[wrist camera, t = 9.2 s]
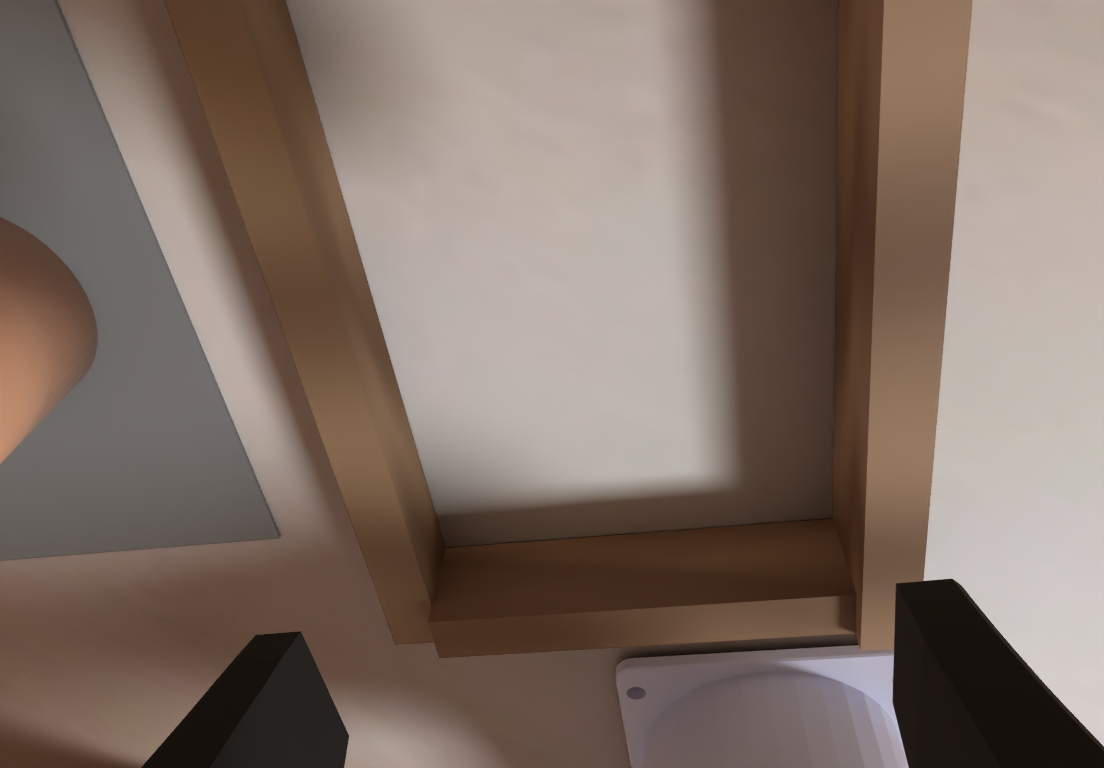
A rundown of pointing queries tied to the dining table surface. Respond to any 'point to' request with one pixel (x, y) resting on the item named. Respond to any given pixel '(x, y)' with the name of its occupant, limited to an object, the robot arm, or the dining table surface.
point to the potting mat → (108, 336)
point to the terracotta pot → (38, 333)
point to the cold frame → (645, 558)
